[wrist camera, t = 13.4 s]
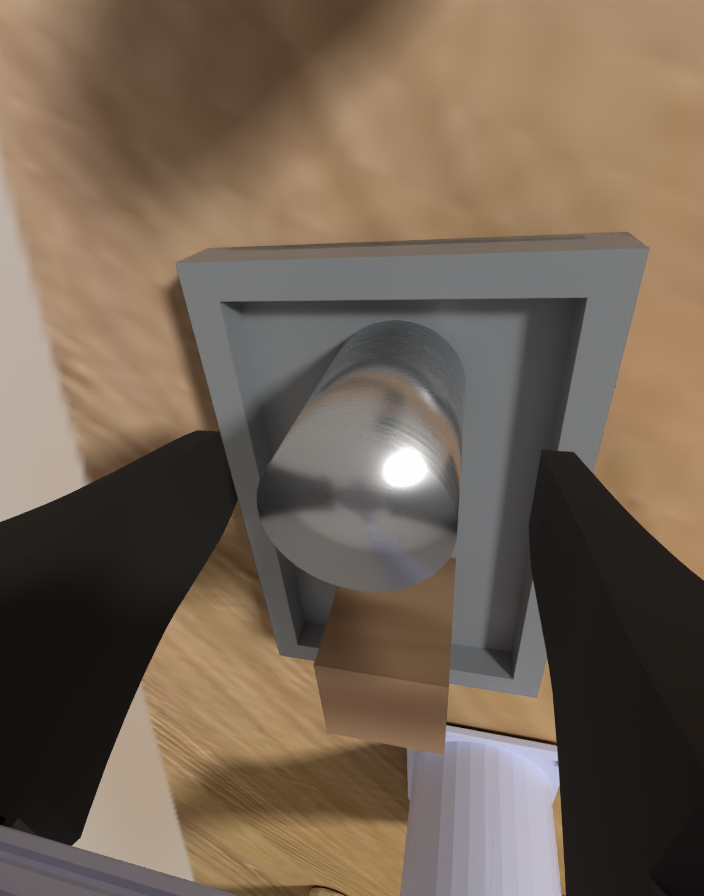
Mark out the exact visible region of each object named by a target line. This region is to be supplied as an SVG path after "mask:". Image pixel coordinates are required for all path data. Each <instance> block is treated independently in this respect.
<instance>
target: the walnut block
mask: <svg viewBox="0 0 704 896" xmlns="http://www.w3.org/2000/svg"><path fill="white" fill-rule="evenodd" d="M455 568H456V558H452V557H450V558H449V559H448V561H447V562H446V563H445V565H444V566H443V567H442V568H441V569H440V570H439V571H438V572H437V573H436V574H434V575H433V576H431V577H430V578H428V579H427V580H425V581H423V582H421V583H419V584H416V585H414V586H411V587H408V588H404V589H400V590H394V591H386V592H369V591H359V590H352V589H347V588H343V587H339V586H338V588H337V591H336V595H335V598H334V601H333V604H332V608H331V611H330V614H329V617H328V620H327V624H326V627H325V630H324V633H323V637H322V640H321V643H320V646H319V650H318V653H317V656H316V659H315V663H314V669H315V674H316V679H317V684H318V689H319V693H320V698H321V703H322V708H323V713H324V718H325V723H326V728H327V732H329V733H334V734H339V735H344V736H349V737H354V738H359V739H364V740H369V741H374V742H379V743H384V744H389V745H394V746H399V747H404V748H409V749H414V750H419V751H424V752H429V753H434V754H439V755H444V753H445V737H446V721H447V706H448V690H449V673H450V655H451V638H452V620H453V603H454V586H455Z"/></svg>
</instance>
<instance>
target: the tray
mask: <svg viewBox="0 0 704 896" xmlns="http://www.w3.org/2000/svg"><path fill="white" fill-rule="evenodd" d="M648 252H649V247H647V246H646V245H644V244H643V243H642V242H640V241H639V240H638V239H636V238H635V237H634V236H632V235H631V234H630V233H628V232H620V233H594V234H569V235H543V236H517V237H491V238H465V239H439V240H413V241H387V242H361V243H335V244H310V245H284V246H258V247H232V248H207V249H205V250H203V251H201V252H199V253H197V254H194V255H192V256H190V257H188V258H186V259H183V260H181V261H179V262H177V263H175V264H176V268H177V272H178V275H179V279H180V283H181V287H182V290H183V294H184V298H185V302H186V305H187V309H188V313H189V317H190V320H191V324H192V328H193V332H194V335H195V339H196V343H197V347H198V350H199V354H200V358H201V362H202V365H203V369H204V373H205V377H206V380H207V384H208V388H209V392H210V395H211V399H212V403H213V407H214V410H215V414H216V418H217V422H218V425H219V429H220V433H221V437H222V440H223V444H224V448H225V452H226V455H227V459H228V463H229V467H230V470H231V474H232V478H233V482H234V485H235V489H236V493H237V497H238V500H239V504H240V508H241V512H242V515H243V519H244V523H245V527H246V530H247V534H248V538H249V542H250V545H251V549H252V553H253V557H254V560H255V564H256V568H257V572H258V575H259V579H260V583H261V587H262V590H263V594H264V598H265V602H266V605H267V609H268V613H269V617H270V620H271V624H272V628H273V632H274V635H275V639H276V643H277V647H278V650H279V654H280V655H282V656H288V657H294V658H300V659H306V660H312V661H315V659H316V656H317V653H318V650H319V646H320V643H321V640H322V637H323V633H324V630H325V627H326V624H327V620H328V617H329V614H330V611H331V608H332V604H333V601H334V598H335V595H336V591H337V588H338V586H336V585H333V584H330V583H327V582H325V581H323V580H320V579H318V578H316V577H314V576H312V575H310V574H308V573H307V572H305V571H304V570H302V569H300V568H299V567H297V566H296V565H295V564H294V563H292V562H291V561H290V560H288V559H287V558H286V557H285V556H284V555H283V554H282V553H281V552H280V551H279V550H278V549H277V547H276V546H275V545H274V544H273V543H272V541H271V540H270V538H269V537H268V535H267V533H266V532H265V530H264V528H263V526H262V523H261V520H260V517H259V514H258V509H257V490H258V485H259V482H260V479H261V476H262V475H263V473H264V471H265V469H266V467H267V466H268V464H269V462H270V461H271V459H272V458H273V456H274V454H275V453H276V451H277V450H278V448H279V446H280V445H281V443H282V442H283V440H284V438H285V437H286V435H287V433H288V432H289V430H290V429H291V427H292V425H293V424H294V422H295V421H296V419H297V417H298V416H299V414H300V413H301V411H302V409H303V408H304V406H305V404H306V403H307V401H308V400H309V398H310V396H311V395H312V393H313V392H314V390H315V388H316V387H317V385H318V384H319V382H320V380H321V379H322V377H323V375H324V374H325V372H326V371H327V369H328V367H329V366H330V364H331V363H332V361H333V359H334V358H335V356H336V354H337V353H338V351H339V350H340V348H341V347H342V345H343V344H344V343H345V341H346V340H348V339H349V338H350V337H351V336H352V335H353V334H354V333H356V332H357V331H358V330H360V329H362V328H364V327H366V326H368V325H371V324H374V323H377V322H382V321H390V320H402V321H408V322H413V323H416V324H420V325H422V326H425V327H427V328H429V329H431V330H433V331H434V332H436V333H438V334H439V335H440V336H441V337H443V338H444V339H445V340H446V341H447V342H448V343H449V344H450V345H451V346H452V348H453V349H454V350H455V352H456V353H457V355H458V357H459V359H460V361H461V363H462V366H463V369H464V373H465V380H466V391H465V408H464V425H463V443H462V460H461V477H460V494H459V511H458V529H457V539H456V543H455V546H454V550H453V552H452V554H451V556H450V557H452V558H456V568H455V586H454V603H453V620H452V638H451V655H450V673H449V683H450V684H456V685H462V686H468V687H474V688H480V689H486V690H492V691H498V692H504V693H510V694H516V695H522V696H528V697H534V698H537V695H538V691H539V687H540V683H541V679H542V675H543V671H544V667H545V663H546V659H547V653H546V648H545V643H544V637H543V632H542V626H541V621H540V616H539V610H538V605H537V599H536V594H535V588H534V583H533V577H532V571H531V561H530V543H529V521H530V515H531V509H532V503H533V497H534V491H535V486H536V480H537V474H538V468H539V462H540V456H541V450H550V451H568V452H574V453H575V454H576V455H577V456H578V457H579V458H580V459H581V460H582V462H583V463H584V464H585V465H586V466H587V467H588V468H589V469H590V471H591V472H592V473H593V472H594V468H595V464H596V460H597V456H598V452H599V448H600V444H601V440H602V436H603V432H604V428H605V424H606V420H607V416H608V412H609V408H610V404H611V400H612V396H613V392H614V388H615V384H616V380H617V376H618V372H619V368H620V364H621V360H622V356H623V352H624V348H625V344H626V340H627V336H628V332H629V328H630V324H631V320H632V316H633V312H634V308H635V304H636V300H637V296H638V292H639V288H640V284H641V280H642V276H643V272H644V268H645V264H646V260H647V256H648Z"/></svg>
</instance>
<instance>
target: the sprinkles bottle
mask: <svg viewBox="0 0 704 896" xmlns="http://www.w3.org/2000/svg"><path fill="white" fill-rule="evenodd" d="M309 896H345V895H343V894H340V893H338V892H335V891H333V890H329V889H326V888H312V889H311V890H310V892H309Z"/></svg>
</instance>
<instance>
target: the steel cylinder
mask: <svg viewBox="0 0 704 896" xmlns="http://www.w3.org/2000/svg"><path fill="white" fill-rule="evenodd" d="M465 391H466V380H465V373H464V369H463V366H462V363H461V361H460V359H459V357H458V355H457V353H456V352H455V350H454V349H453V348H452V346H451V345H450V344H449V343H448V342H447V341H446V340H445V339H444V338H443V337H441V336H440V335H439V334H438V333H436V332H434V331H433V330H431V329H429V328H427V327H425V326H422V325H420V324H416V323H413V322H408V321H402V320H390V321H382V322H377V323H374V324H371V325H368V326H366V327H364V328H362V329H360V330H358V331H357V332H356V333H354V334H353V335H352V336H351V337H350V338H349V339H348V340H346V341H345V343H344V344H343V345H342V347H341V348H340V350H339V351H338V353H337V354H336V356H335V358H334V359H333V361H332V363H331V364H330V366H329V367H328V369H327V371H326V372H325V374H324V375H323V377H322V379H321V380H320V382H319V384H318V385H317V387H316V388H315V390H314V392H313V393H312V395H311V396H310V398H309V400H308V401H307V403H306V404H305V406H304V408H303V409H302V411H301V413H300V414H299V416H298V417H297V419H296V421H295V422H294V424H293V425H292V427H291V429H290V430H289V432H288V433H287V435H286V437H285V438H284V440H283V442H282V443H281V445H280V446H279V448H278V450H277V451H276V453H275V454H274V456H273V458H272V459H271V461H270V462H269V464H268V466H267V467H266V469H265V471H264V473H263V475H262V476H261V479H260V482H259V485H258V490H257V509H258V514H259V517H260V520H261V523H262V526H263V528H264V530H265V532H266V533H267V535H268V537H269V538H270V540H271V541H272V543H273V544H274V545H275V546H276V547H277V549H278V550H279V551H280V552H281V553H282V554H283V555H284V556H285V557H286V558H287V559H288V560H290V561H291V562H292V563H294V564H295V565H296V566H297V567H299V568H300V569H302V570H304V571H305V572H307V573H308V574H310V575H312V576H314V577H316V578H318V579H320V580H323V581H325V582H327V583H330V584H333V585H336V586H339V587H343V588H347V589H352V590H359V591H369V592H386V591H394V590H400V589H404V588H408V587H411V586H414V585H416V584H419V583H421V582H423V581H425V580H427V579H428V578H430V577H431V576H433V575H434V574H436V573H437V572H438V571H439V570H440V569H441V568H442V567H443V566H444V565H445V563H446V562H447V561H448V559H449V558H450V556H451V554H452V552H453V550H454V546H455V543H456V539H457V529H458V511H459V494H460V477H461V460H462V443H463V425H464V408H465Z"/></svg>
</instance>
